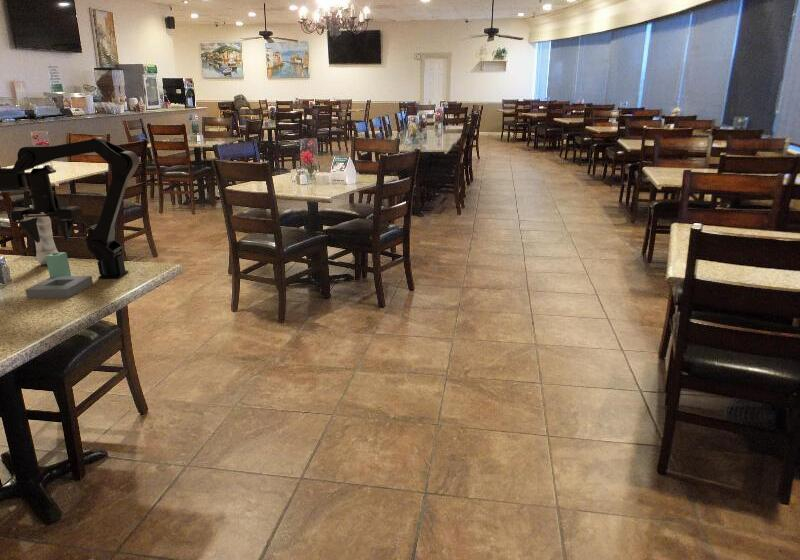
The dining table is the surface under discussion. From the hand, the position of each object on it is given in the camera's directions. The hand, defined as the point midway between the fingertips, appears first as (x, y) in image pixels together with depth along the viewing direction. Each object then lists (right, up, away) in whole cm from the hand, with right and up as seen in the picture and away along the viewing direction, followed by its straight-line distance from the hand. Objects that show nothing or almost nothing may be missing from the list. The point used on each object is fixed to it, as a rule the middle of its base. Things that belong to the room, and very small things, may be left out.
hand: (53, 241), depth 173 cm
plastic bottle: (-14, -6, +21) cm, 25 cm away
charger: (0, -11, +4) cm, 12 cm away
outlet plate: (+7, -15, -7) cm, 18 cm away
